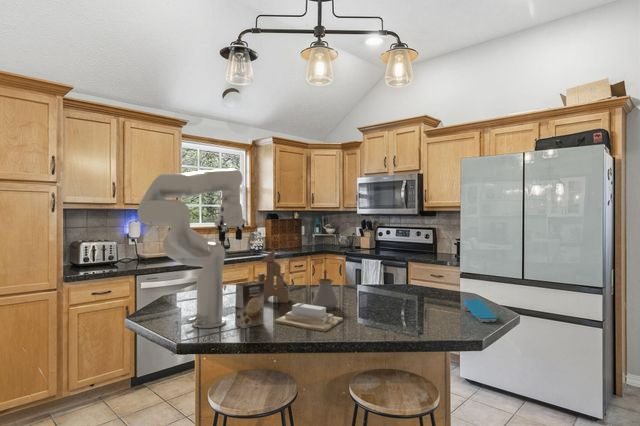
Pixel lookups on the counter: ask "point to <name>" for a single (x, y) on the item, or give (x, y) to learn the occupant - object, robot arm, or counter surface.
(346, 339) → the counter surface
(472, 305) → the blue block
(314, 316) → the white block
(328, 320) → the cradle
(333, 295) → the coffee pot
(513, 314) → the counter surface
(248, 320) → the coffee box
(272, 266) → the wooden toy
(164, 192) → the robot arm
